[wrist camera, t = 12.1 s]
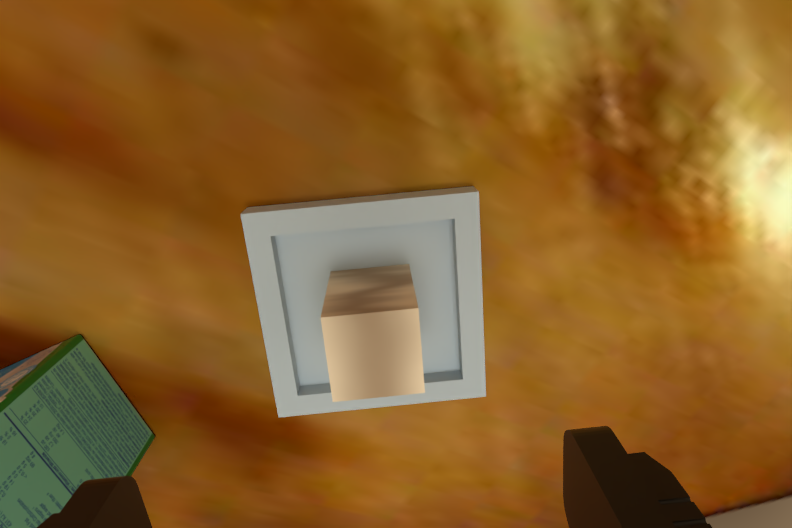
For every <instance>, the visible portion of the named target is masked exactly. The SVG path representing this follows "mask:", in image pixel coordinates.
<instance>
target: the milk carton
mask: <svg viewBox="0 0 792 528" xmlns="http://www.w3.org/2000/svg"><path fill="white" fill-rule="evenodd" d="M154 438H155V436H154V434H153V433H152V432H151V430H150V429H149V428H148V426H147V425H146V423H145V422H144V421H143V419H142V418H141V417H140V415H139V414H138V412H137V411H136V410H135V408H134V407H133V406H132V404H131V403H130V401H129V400H128V399H127V397H126V396H125V395H124V393H123V392H122V391H121V389H120V388H119V386H118V385H117V384H116V382H115V381H114V380H113V378H112V377H111V375H110V374H109V373H108V371H107V370H106V369H105V367H104V366H103V365H102V363H101V362H100V360H99V359H98V358H97V356H96V355H95V354H94V352H93V351H92V349H91V348H90V347H89V345H88V344H87V343H86V341H85V340H84V338H83V337H82V336H81V334H79V335H76V336H74V337H72V338H70V339H67V340H65V341H63V342H61V343H59V344H56V345H54V346H52V347H50V348H48V349H45V350H43V351H41V352H39V353H37V354H34V355H32V356H30V357H28V358H25V359H23V360H21V361H19V362H17V363H14V364H12V365H10V366H8V367H6V368H3V369H1V370H0V528H37V527H38V526H39V525H40V524H41V523H43V522H44V521H45V520H46V519H47V518H49V517H50V516H51V515H52V514H54V513H60V512H61V510H62V509H63V507H64V506H65V505H66V503H67V502H68V501H69V499H70V498H71V496H72V495H73V494H74V492H75V491H76V490H77V488H78V487H79V486H80V485H81V484H82V483H83V482H85V481H86V480H92V479H101V478H111V477H120V476H131V475H132V474H133V472H134V470H135V469H136V467H137V465H138V464H139V462H140V461H141V459H142V457H143V456H144V454H145V452H146V451H147V449H148V448H149V446H150V444H151V443H152V441H153V439H154Z"/></svg>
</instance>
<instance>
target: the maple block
mask: <svg viewBox="0 0 792 528" xmlns="http://www.w3.org/2000/svg"><path fill="white" fill-rule="evenodd" d="M321 325H322V332H323V339H324V345H325V352H326V359H327V366H328V373H329V380H330V387H331V394H332V401H333V402H339V401H349V400H359V399H369V398H379V397H389V396H399V395H409V394H419V393H425V385H424V372H423V359H422V346H421V334H420V321H419V308H418V303H417V299H416V294H415V289H414V285H413V280H412V275H411V271H410V266H409V264H403V265H392V266H382V267H371V268H361V269H350V270H340V271H330V276H329V281H328V285H327V290H326V295H325V299H324V304H323V308H322V313H321Z"/></svg>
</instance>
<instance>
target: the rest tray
mask: <svg viewBox="0 0 792 528" xmlns="http://www.w3.org/2000/svg"><path fill="white" fill-rule="evenodd" d="M241 220H242V225H243V230H244V236H245V241H246V246H247V252H248V257H249V262H250V268H251V273H252V278H253V284H254V289H255V294H256V300H257V305H258V310H259V316H260V321H261V326H262V332H263V337H264V342H265V348H266V353H267V358H268V364H269V369H270V374H271V380H272V385H273V390H274V396H275V401H276V406H277V412H278V417H288V416H298V415H308V414H318V413H328V412H338V411H347V410H357V409H367V408H377V407H387V406H397V405H407V404H417V403H427V402H437V401H447V400H457V399H467V398H477V397H486V381H485V353H484V324H483V295H482V267H481V238H480V209H479V191H478V190H477V189H476V188H475V187H474V186H468V187H457V188H447V189H436V190H426V191H415V192H404V193H394V194H383V195H373V196H362V197H351V198H341V199H330V200H320V201H309V202H299V203H288V204H277V205H267V206H256V207H247V208H246V209H245V210H244V211H243V212H242V213H241ZM403 264H409V266H410V271H411V275H412V280H413V285H414V289H415V294H416V299H417V303H418V308H419V321H420V334H421V346H422V359H423V372H424V385H425V393H419V394H409V395H399V396H389V397H379V398H369V399H359V400H349V401H339V402H333V401H332V394H331V387H330V380H329V373H328V366H327V359H326V352H325V345H324V339H323V332H322V325H321V313H322V308H323V304H324V299H325V295H326V290H327V285H328V281H329V276H330V271H340V270H350V269H361V268H371V267H382V266H392V265H403Z"/></svg>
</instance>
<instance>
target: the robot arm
mask: <svg viewBox="0 0 792 528" xmlns="http://www.w3.org/2000/svg"><path fill="white" fill-rule="evenodd" d="M563 498H564V507H565V512H566V517H567V521H568V524H569V527H570V528H712V527H711V525H710V524H707V523H706V520H705V517H704V516H703V514H702V513H701V512H700V510H699V509H698V508H697V506H696V505H695V503H694V502H691V501H690V497H689V495H688V494H687V493H686V491H685V490H684V489H683V487H682V486H681V484H680V483H679V482H678V480H677V479H676V478H675V476H674V475H673V474H672V472H671V471H669V470H668V469H667V468H665V467H664V466H662V465H661V464H660V463H658V462H657V461H656V460H654V459H653V458H651V457H650V456H649V455H647V454H646V453H645V452H641V453H632V454H627V452H626V451H625V449H624V448H623V446H622V445H621V443H620V442H619V440H618V439H617V437H616V436H615V434H614V433H613V431H612V430H611V429H610V428H609V427H608V426H601V427H591V428H582V429H573V430H566V431H565V433H564V446H563ZM37 528H152V526H151V523H150V520H149V517H148V514H147V511H146V508H145V506H144V503H143V500H142V497H141V494H140V491H139V488H138V485H137V483H136V481H135V480H134V478H133V477H131V476H120V477H111V478H101V479H92V480H86V481H85V482H83V483H82V484H81V485H80V486H79V487H78V488H77V490H76V491H75V492H74V494H73V495H72V496H71V498H70V499H69V501H68V502H67V503H66V505H65V506H64V507H63V509H62V510H61V512H60V513H54V514H52V515H51V516H50V517H49V518H47V519H46V520H45V521H44V522H43V523H41V524H40V525H39V526H38V527H37Z"/></svg>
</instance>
